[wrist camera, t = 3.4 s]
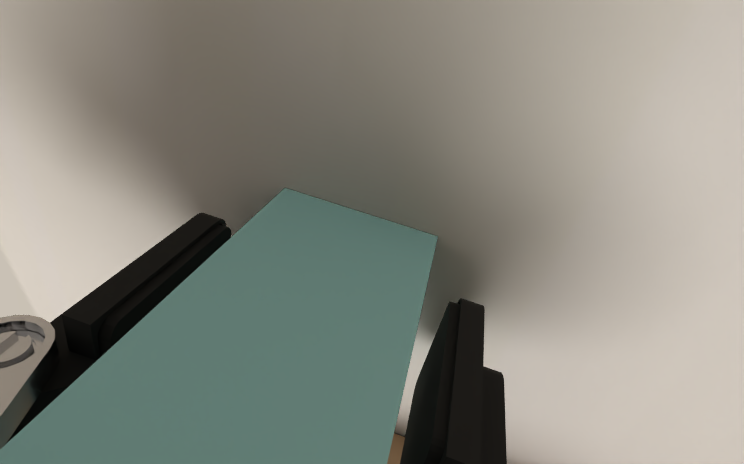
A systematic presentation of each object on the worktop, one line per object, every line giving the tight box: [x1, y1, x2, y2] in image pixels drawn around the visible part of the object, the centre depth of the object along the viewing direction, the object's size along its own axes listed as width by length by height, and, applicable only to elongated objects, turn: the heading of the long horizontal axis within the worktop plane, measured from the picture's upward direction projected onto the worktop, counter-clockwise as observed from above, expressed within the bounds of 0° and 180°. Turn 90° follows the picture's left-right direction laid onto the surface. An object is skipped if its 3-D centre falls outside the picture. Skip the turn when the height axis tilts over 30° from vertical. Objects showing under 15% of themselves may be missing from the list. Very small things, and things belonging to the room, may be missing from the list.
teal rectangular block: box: [0, 188, 438, 464], centre depth 8 cm, size 4×5×8 cm
